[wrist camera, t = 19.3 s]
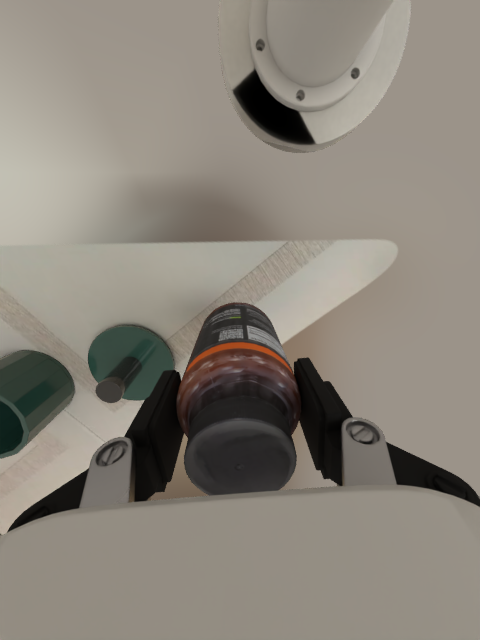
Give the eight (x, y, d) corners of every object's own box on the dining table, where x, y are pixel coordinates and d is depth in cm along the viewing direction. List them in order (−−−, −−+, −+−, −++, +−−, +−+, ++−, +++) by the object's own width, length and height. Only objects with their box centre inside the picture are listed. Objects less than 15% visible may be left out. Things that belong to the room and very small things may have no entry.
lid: (76, 339, 29) (33, 365, 23) (153, 311, 28) (129, 331, 22) (118, 404, 33) (91, 442, 26) (188, 382, 32) (177, 416, 25)
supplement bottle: (231, 378, 20) (224, 541, 9) (186, 329, 18) (113, 458, 8) (288, 340, 19) (355, 478, 8) (245, 284, 17) (257, 363, 6)
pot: (-18, 363, 30) (-97, 400, 23) (46, 340, 29) (-15, 371, 22) (28, 419, 33) (-28, 467, 26) (88, 400, 32) (47, 444, 25)
